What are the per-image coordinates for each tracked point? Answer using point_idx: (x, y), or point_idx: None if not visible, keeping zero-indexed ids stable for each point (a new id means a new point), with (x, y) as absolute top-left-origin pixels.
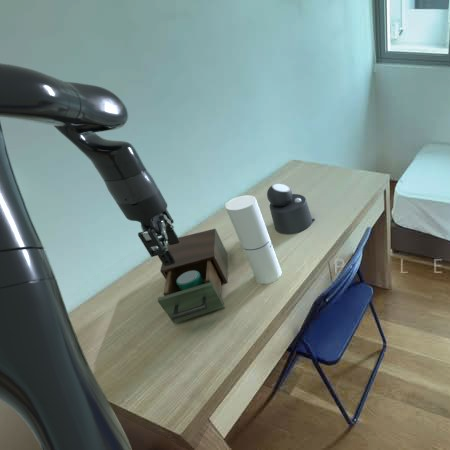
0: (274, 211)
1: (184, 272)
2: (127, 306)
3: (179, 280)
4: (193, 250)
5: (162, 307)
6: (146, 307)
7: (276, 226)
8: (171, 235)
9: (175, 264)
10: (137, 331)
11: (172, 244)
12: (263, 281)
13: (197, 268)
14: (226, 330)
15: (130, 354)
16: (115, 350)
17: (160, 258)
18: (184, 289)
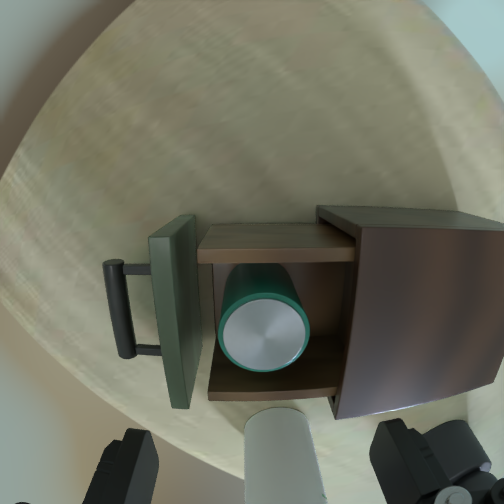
0: (449, 478)
1: None
2: (347, 64)
3: (254, 309)
4: (426, 344)
5: (158, 230)
6: (316, 114)
7: (437, 441)
8: (394, 492)
9: (373, 290)
10: (213, 106)
11: (376, 430)
12: (247, 427)
13: None
14: None
15: (130, 112)
16: (165, 68)
17: (92, 483)
18: (223, 305)
